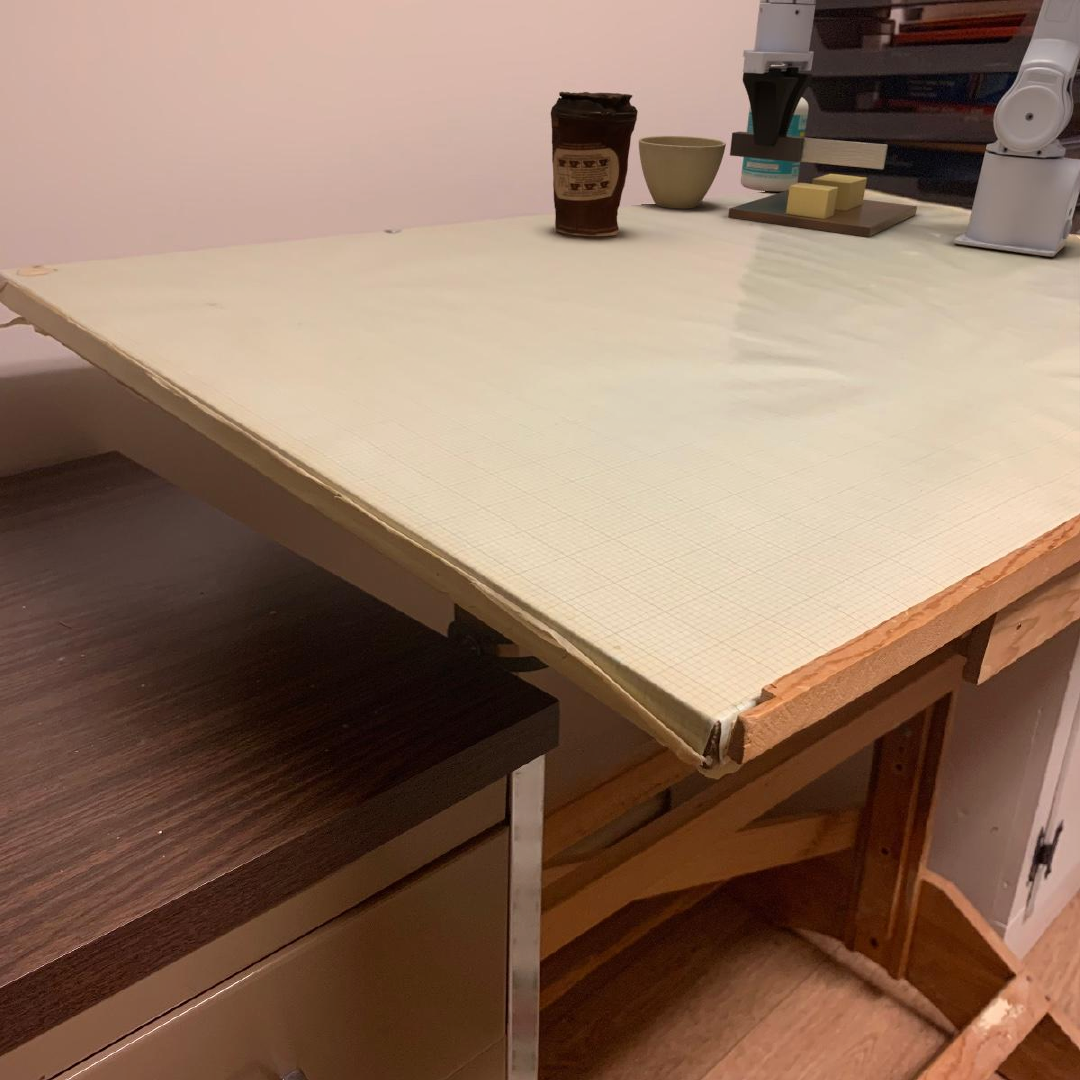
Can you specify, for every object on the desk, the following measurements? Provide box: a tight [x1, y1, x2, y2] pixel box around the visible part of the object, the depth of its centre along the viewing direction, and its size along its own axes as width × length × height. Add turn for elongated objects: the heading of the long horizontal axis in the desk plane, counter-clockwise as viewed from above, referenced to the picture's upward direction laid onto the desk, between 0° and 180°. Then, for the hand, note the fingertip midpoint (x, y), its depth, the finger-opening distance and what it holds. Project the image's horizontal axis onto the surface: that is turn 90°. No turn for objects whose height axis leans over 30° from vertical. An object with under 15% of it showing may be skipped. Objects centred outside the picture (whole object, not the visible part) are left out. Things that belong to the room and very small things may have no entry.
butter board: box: [727, 190, 918, 238], centre depth 114 cm, size 16×18×1 cm
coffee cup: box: [550, 91, 639, 237], centre depth 97 cm, size 9×8×13 cm
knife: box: [729, 131, 889, 170], centre depth 107 cm, size 17×2×2 cm, turn 56°
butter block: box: [811, 173, 868, 211], centre depth 114 cm, size 4×6×3 cm
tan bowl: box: [638, 135, 727, 209], centre depth 115 cm, size 10×10×7 cm
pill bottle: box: [740, 96, 810, 193], centre depth 128 cm, size 8×7×14 cm
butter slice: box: [786, 182, 838, 219], centre depth 108 cm, size 4×3×3 cm
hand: (768, 144), depth 109 cm, fingers closed on knife, 2 cm apart
